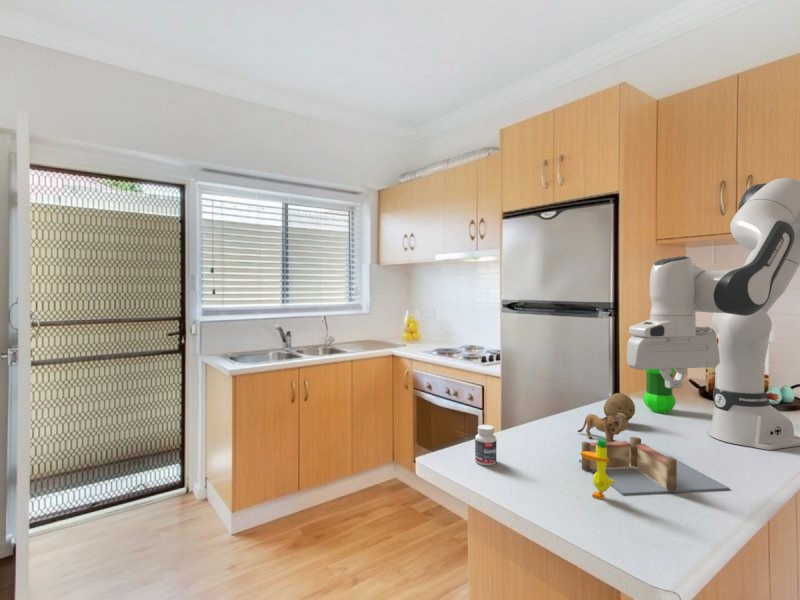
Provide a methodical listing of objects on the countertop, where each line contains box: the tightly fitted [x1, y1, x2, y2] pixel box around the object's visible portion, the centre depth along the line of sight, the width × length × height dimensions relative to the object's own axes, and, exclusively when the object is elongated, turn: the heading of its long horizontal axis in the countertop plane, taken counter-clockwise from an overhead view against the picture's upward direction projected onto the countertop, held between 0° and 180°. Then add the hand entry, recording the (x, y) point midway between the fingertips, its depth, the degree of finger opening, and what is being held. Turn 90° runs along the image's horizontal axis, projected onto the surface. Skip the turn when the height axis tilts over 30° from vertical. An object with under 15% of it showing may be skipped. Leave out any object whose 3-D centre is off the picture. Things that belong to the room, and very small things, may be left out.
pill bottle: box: [474, 424, 497, 467], centre depth 107 cm, size 5×5×9 cm
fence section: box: [581, 436, 642, 472], centre depth 102 cm, size 15×2×7 cm, turn 95°
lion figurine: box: [577, 413, 630, 442], centre depth 122 cm, size 15×5×9 cm, turn 37°
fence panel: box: [636, 443, 678, 491], centre depth 95 cm, size 12×2×6 cm, turn 2°
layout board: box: [579, 455, 731, 496], centre depth 99 cm, size 24×18×1 cm
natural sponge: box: [603, 392, 636, 421], centre depth 136 cm, size 9×9×10 cm
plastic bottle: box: [643, 369, 677, 414], centre depth 151 cm, size 10×10×25 cm
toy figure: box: [579, 438, 615, 500], centre depth 88 cm, size 7×4×12 cm, turn 50°
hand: (673, 387), depth 98 cm, fingers closed
